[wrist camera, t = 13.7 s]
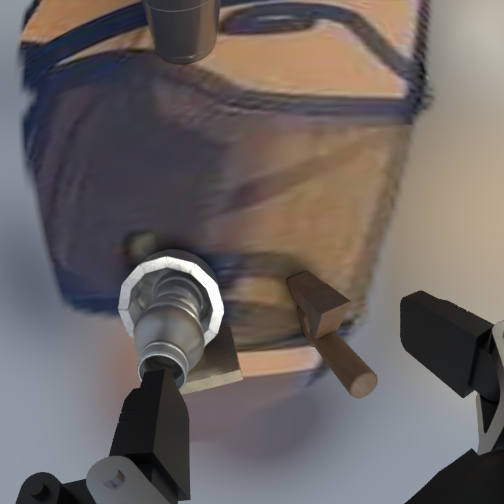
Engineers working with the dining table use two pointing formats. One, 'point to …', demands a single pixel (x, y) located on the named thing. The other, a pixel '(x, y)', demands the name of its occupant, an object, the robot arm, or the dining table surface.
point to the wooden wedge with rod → (330, 331)
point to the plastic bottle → (171, 327)
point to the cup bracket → (216, 341)
